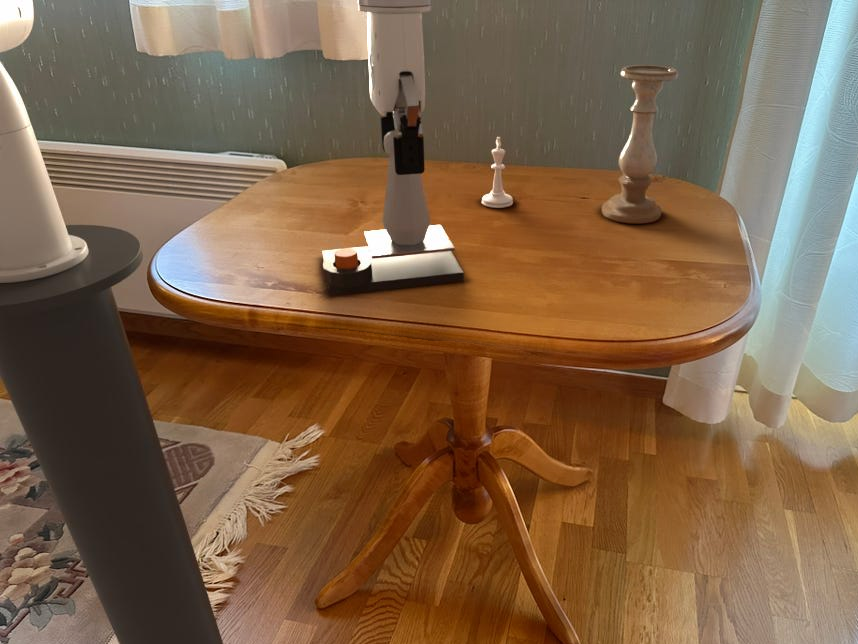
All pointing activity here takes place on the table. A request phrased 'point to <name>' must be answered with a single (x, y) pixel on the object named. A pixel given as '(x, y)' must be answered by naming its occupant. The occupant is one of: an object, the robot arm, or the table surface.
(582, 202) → the table surface
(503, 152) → the chess piece
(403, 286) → the scale
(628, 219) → the candle holder
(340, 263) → the button
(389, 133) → the salt shaker
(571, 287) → the table surface
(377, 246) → the weighing plate
